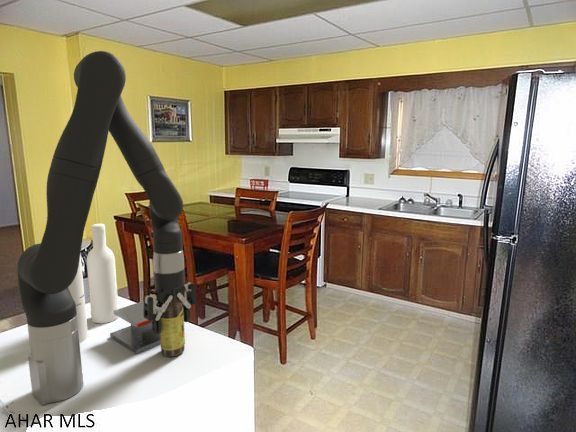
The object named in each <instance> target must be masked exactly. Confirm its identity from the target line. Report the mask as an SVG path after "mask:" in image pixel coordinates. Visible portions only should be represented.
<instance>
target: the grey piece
mask: <svg viewBox="0 0 576 432" xmlns="http://www.w3.org/2000/svg"><path fill="white" fill-rule="evenodd" d="M156 301H157V300H155V303H156ZM155 303H154V304H153V309H154V305H155ZM114 314H115V315H116V316H118V318H120V319H121V320H123V321H125V322H126V323H128V324H130V325H129V326H125V327H124V328H121V329H118V330H115V331H112V332H110V333H109V337H110V338H111V339H112V340H114V341H115V342H116V343H119V344H120V345H121V346H123V347H125V348H126V349H128V350H129V351H131V352H132V353H133V354H135V355H139V354H141V353H143V352H146V351H147V350H150V349H152V348H155V347H157V346H159V345H160V333H159V334H157V333H155V332H154V331H153V330H152V321H149V320H148V319H146V318H144V300H142V301H138V302H136V303H134V304H133V303H132V304H130V305H127V306H123V307H121V308H119V309H117V310H114Z"/></svg>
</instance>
